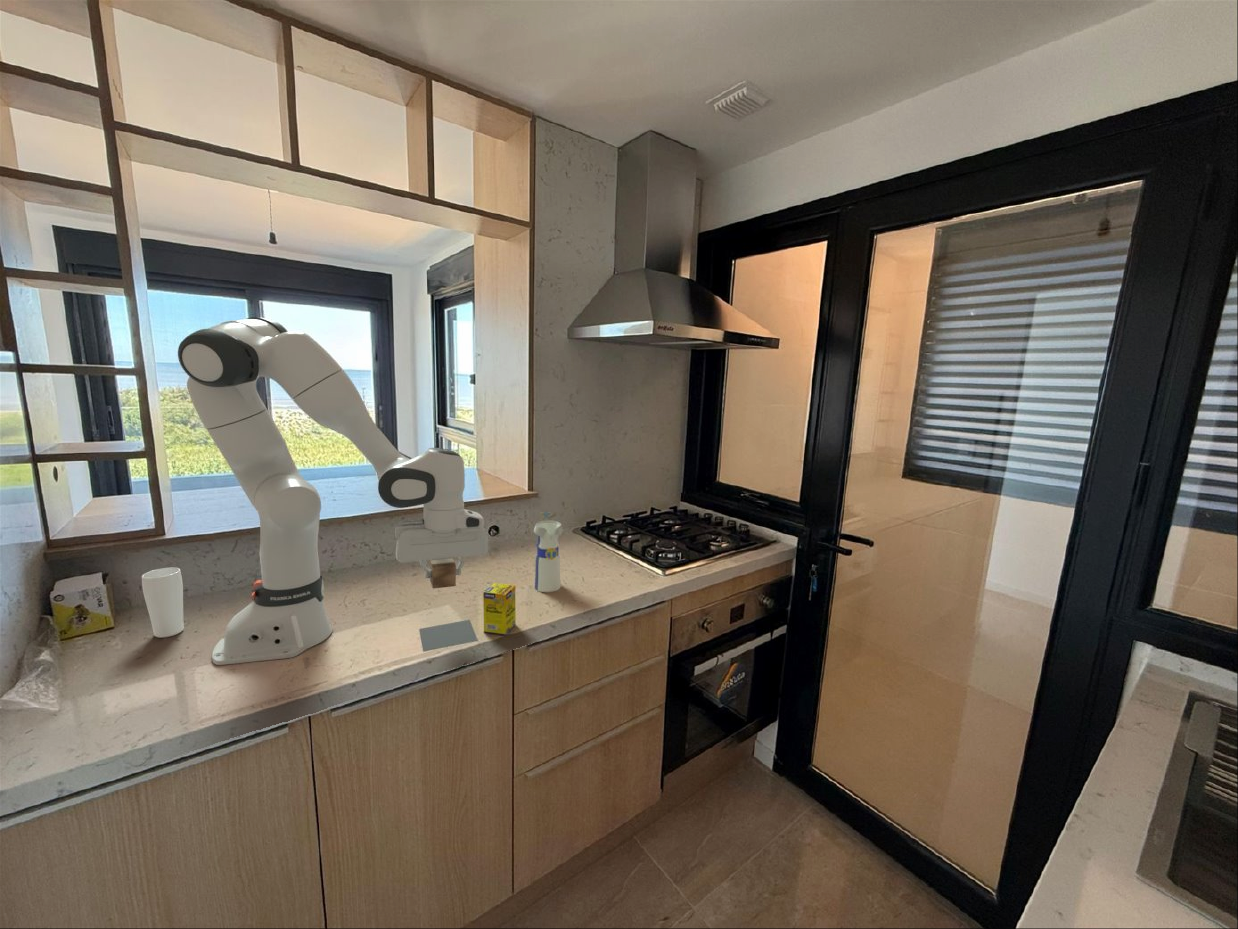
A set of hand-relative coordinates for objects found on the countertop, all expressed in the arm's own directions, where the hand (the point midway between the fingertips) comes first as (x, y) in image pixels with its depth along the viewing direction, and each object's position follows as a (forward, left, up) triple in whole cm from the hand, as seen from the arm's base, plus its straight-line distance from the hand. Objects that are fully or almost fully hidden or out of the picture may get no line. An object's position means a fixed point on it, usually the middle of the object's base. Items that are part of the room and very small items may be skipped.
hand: (442, 575), depth 116 cm
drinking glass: (-58, +27, -15) cm, 66 cm away
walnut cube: (0, 0, -2) cm, 2 cm away
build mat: (+1, 0, -15) cm, 15 cm away
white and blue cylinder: (+32, +18, -15) cm, 39 cm away
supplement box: (+13, -2, -15) cm, 20 cm away
